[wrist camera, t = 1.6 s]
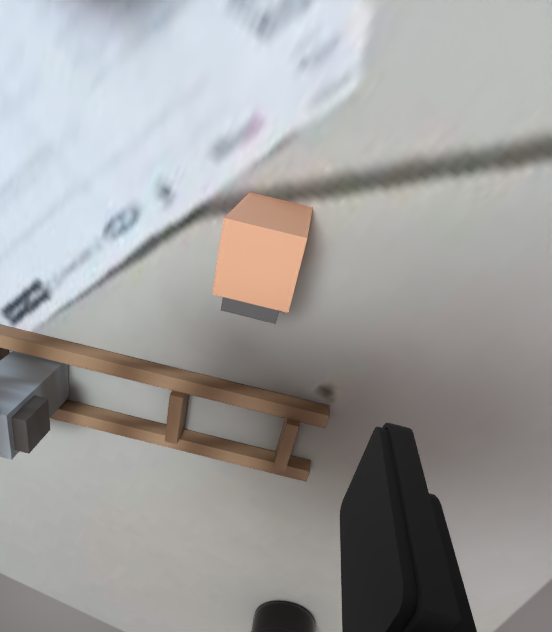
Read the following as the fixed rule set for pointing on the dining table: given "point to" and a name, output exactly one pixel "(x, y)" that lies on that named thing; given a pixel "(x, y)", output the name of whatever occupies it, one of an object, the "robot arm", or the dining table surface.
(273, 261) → the block
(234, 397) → the rail
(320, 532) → the dining table surface
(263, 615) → the supplement bottle
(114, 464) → the dining table surface
